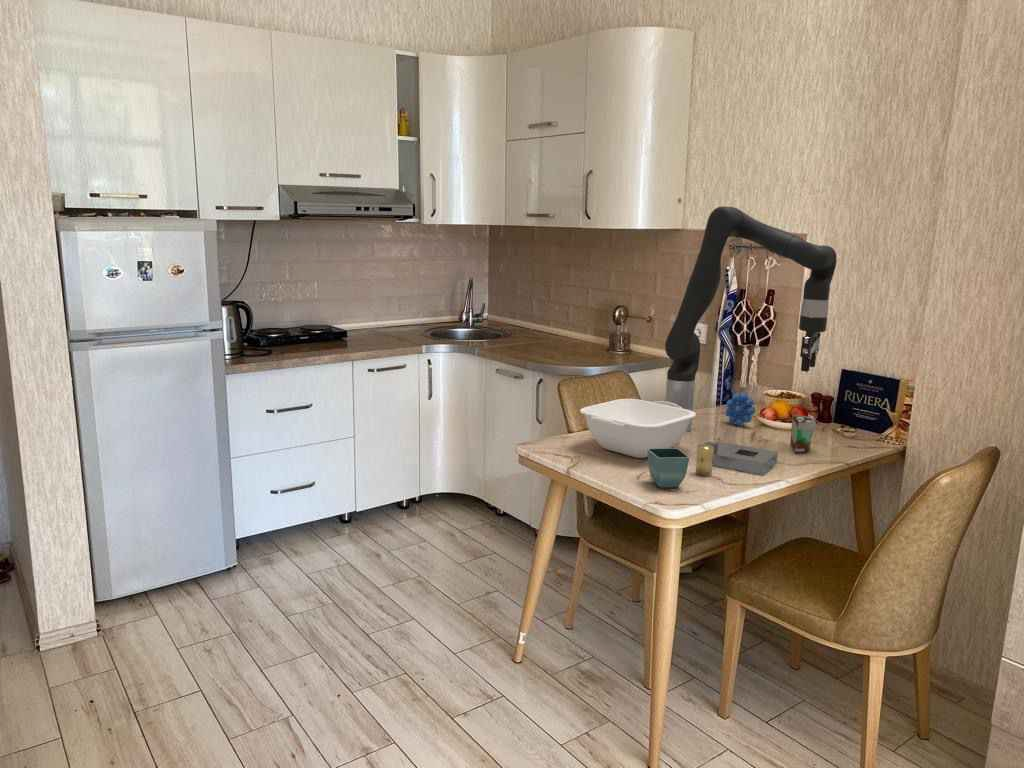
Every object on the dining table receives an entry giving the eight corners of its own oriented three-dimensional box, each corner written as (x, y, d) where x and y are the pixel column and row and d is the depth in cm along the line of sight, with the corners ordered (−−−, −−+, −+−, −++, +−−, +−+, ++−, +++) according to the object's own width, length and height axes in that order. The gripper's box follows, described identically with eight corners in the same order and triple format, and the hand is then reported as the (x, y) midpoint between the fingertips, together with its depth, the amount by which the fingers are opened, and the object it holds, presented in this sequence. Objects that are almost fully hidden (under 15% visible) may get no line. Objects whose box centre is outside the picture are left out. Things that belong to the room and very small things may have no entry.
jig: (700, 463, 226) (702, 443, 225) (716, 452, 238) (718, 433, 236) (763, 475, 216) (765, 454, 215) (776, 463, 228) (778, 443, 227)
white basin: (631, 431, 260) (633, 394, 257) (706, 449, 240) (709, 410, 238) (563, 450, 236) (565, 410, 233) (640, 473, 216) (643, 428, 214)
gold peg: (693, 474, 216) (695, 447, 214) (698, 470, 219) (700, 443, 218) (708, 477, 214) (710, 449, 212) (713, 473, 217) (716, 446, 215)
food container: (816, 456, 236) (820, 424, 234) (795, 455, 237) (798, 423, 235) (809, 445, 247) (813, 415, 245) (789, 444, 249) (792, 413, 247)
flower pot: (675, 479, 212) (678, 447, 210) (688, 490, 203) (690, 457, 201) (644, 480, 210) (646, 448, 209) (655, 491, 202) (657, 458, 200)
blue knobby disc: (760, 427, 268) (763, 393, 265) (749, 430, 264) (752, 396, 261) (732, 420, 277) (734, 387, 274) (720, 423, 272) (723, 389, 270)
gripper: (805, 311, 236) (799, 364, 239) (795, 315, 224) (789, 371, 227) (831, 313, 232) (825, 367, 235) (822, 318, 220) (816, 374, 223)
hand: (807, 369), depth 231 cm, fingers open, 8 cm apart
